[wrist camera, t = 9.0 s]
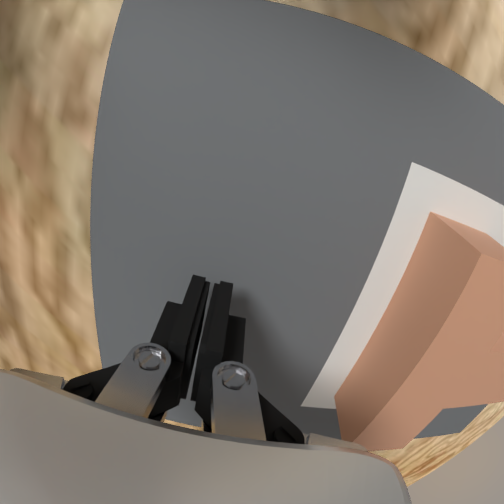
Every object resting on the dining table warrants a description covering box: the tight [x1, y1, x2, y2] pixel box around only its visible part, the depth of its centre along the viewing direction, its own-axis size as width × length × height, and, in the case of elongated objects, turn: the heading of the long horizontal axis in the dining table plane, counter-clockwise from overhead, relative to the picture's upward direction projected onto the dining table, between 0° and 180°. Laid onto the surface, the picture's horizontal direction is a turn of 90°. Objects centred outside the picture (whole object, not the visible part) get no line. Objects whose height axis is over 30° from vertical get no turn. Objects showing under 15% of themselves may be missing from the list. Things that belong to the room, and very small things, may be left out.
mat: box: [90, 0, 504, 440], centre depth 14 cm, size 24×31×1 cm
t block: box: [334, 212, 504, 451], centre depth 13 cm, size 12×12×4 cm
